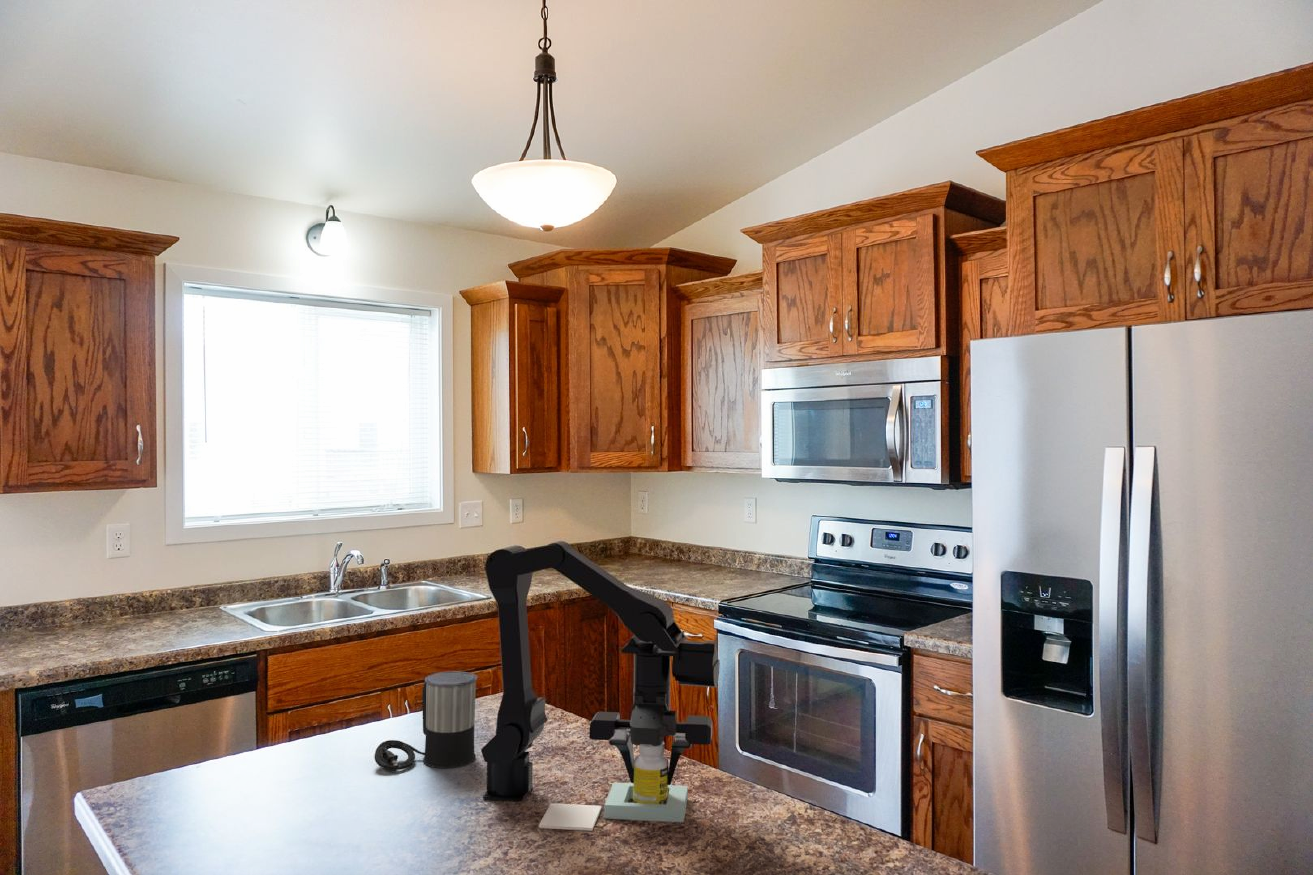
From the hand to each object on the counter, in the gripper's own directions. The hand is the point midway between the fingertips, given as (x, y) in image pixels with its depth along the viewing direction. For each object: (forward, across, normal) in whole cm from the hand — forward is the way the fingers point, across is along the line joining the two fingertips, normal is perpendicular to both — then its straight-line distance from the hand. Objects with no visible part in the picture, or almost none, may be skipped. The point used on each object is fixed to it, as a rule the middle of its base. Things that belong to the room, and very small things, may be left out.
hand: (650, 783), depth 133 cm
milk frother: (+4, -42, +15) cm, 44 cm away
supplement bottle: (+4, 0, 0) cm, 4 cm away
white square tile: (+4, -12, -5) cm, 13 cm away
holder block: (+4, -1, 0) cm, 4 cm away
